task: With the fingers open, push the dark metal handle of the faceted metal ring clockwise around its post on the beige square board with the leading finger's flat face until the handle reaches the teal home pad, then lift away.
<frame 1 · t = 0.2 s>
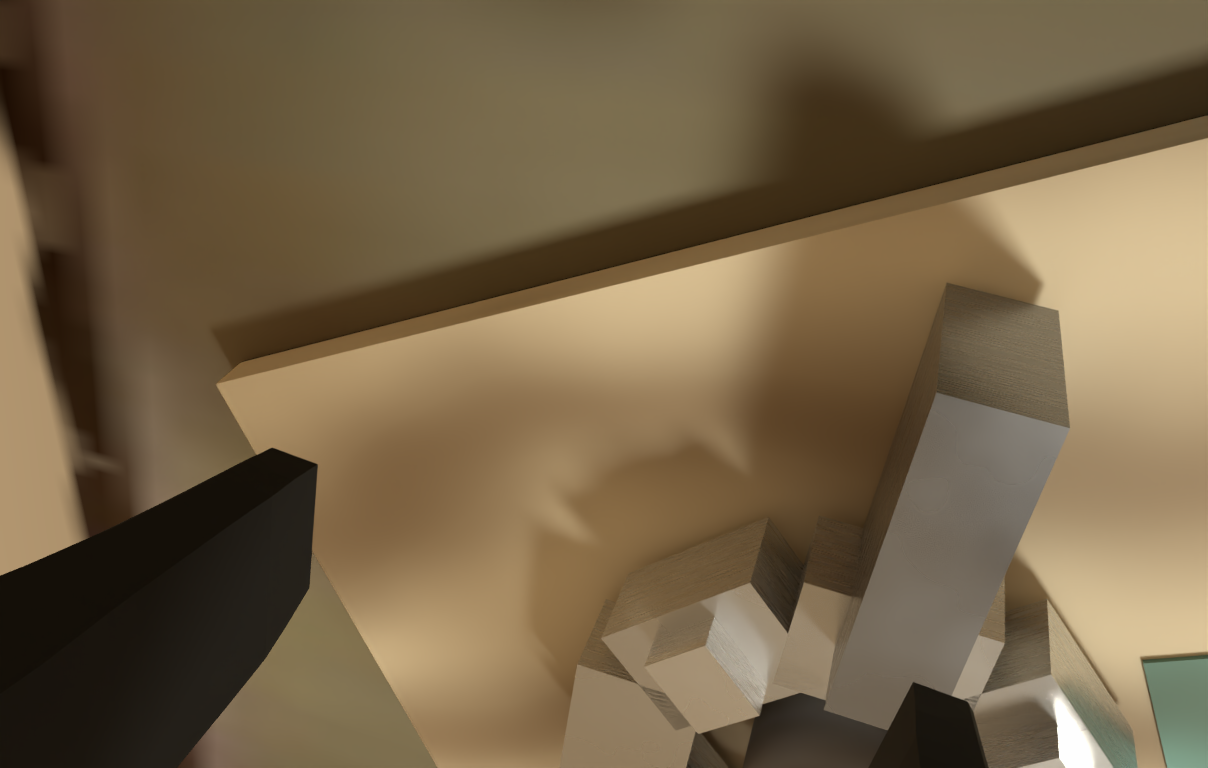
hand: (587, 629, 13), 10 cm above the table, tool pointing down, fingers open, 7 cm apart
faceted metal ring: (861, 713, 21), point 3 cm above the table, hinge at 0.0°
beige square board: (845, 688, 25), on the table
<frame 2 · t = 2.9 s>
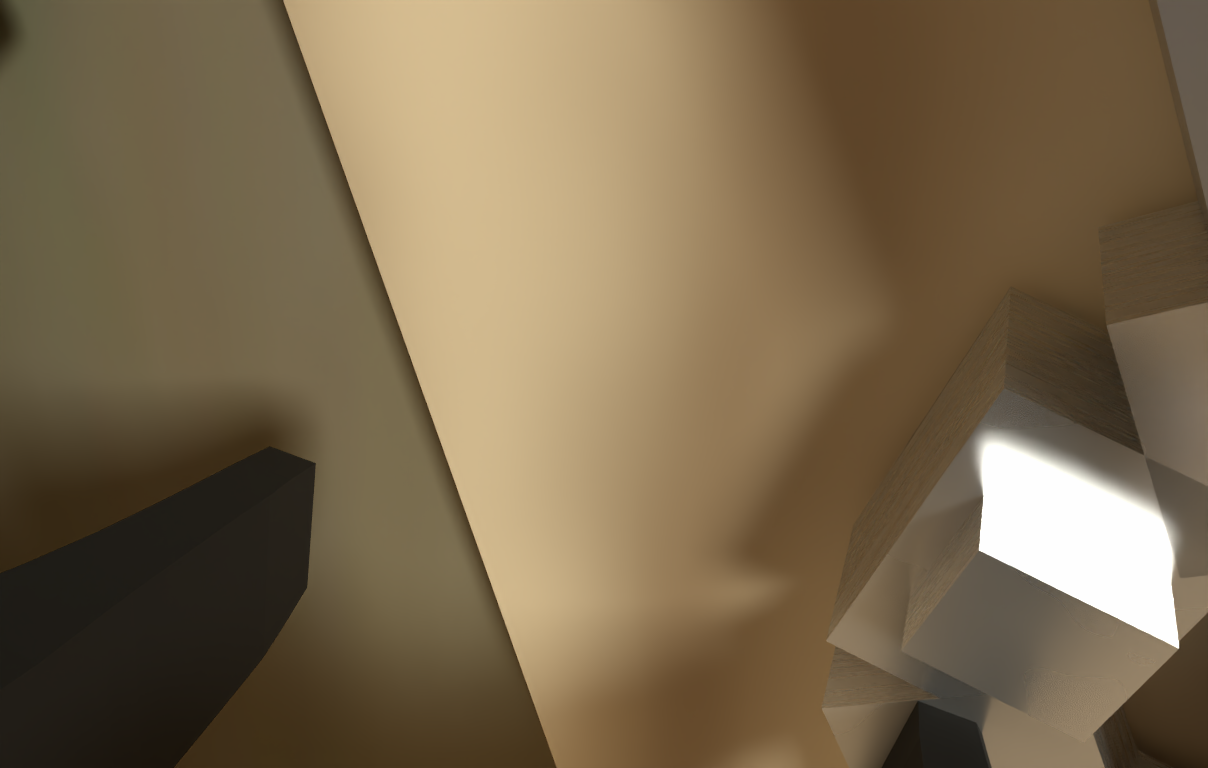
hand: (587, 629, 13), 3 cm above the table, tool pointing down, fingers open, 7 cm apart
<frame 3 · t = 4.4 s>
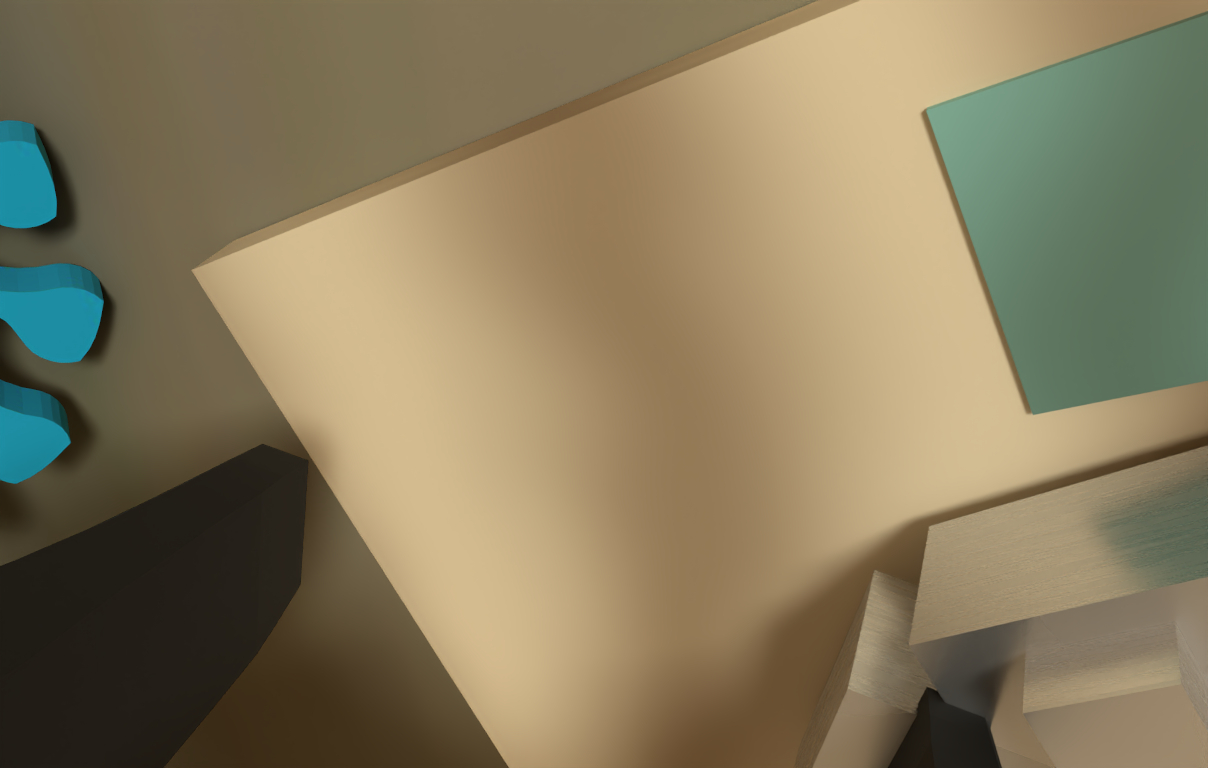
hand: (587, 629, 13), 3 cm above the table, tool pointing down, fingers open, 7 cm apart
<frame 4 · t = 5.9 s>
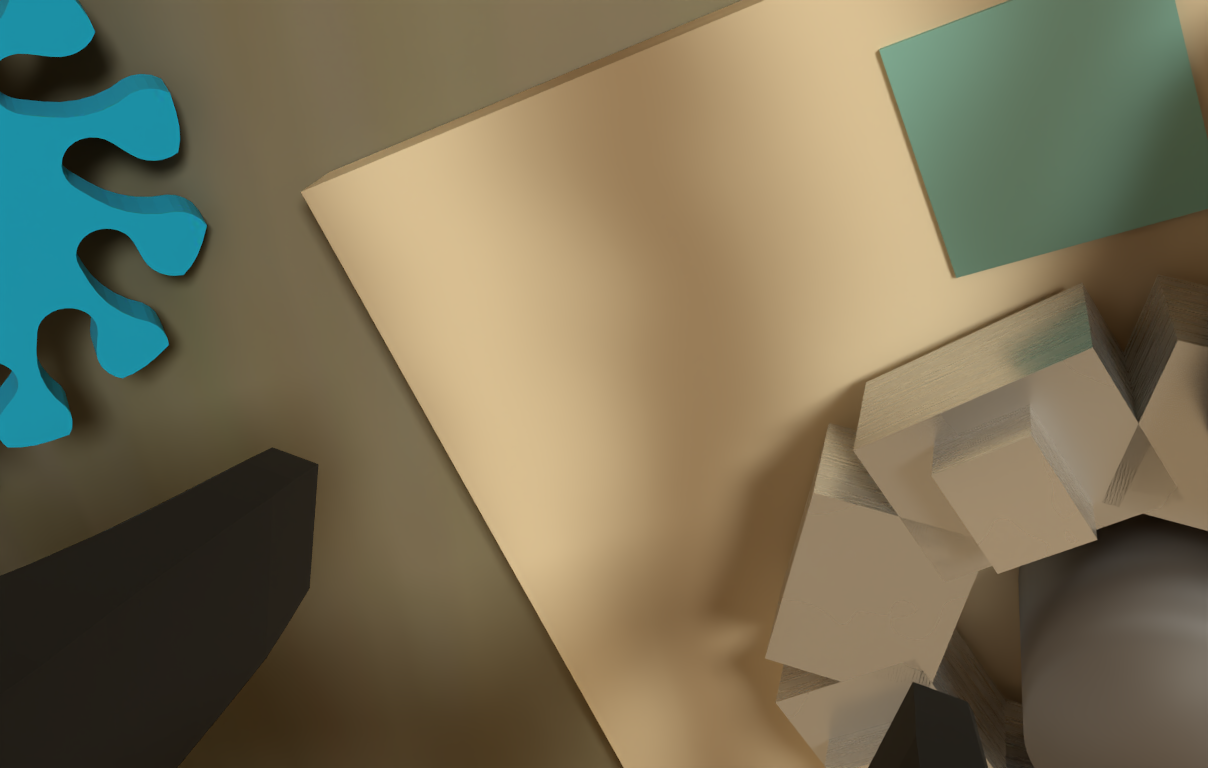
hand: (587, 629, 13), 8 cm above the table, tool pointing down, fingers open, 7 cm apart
gear: (50, 120, 22), on the table
beige square board: (1127, 547, 20), on the table
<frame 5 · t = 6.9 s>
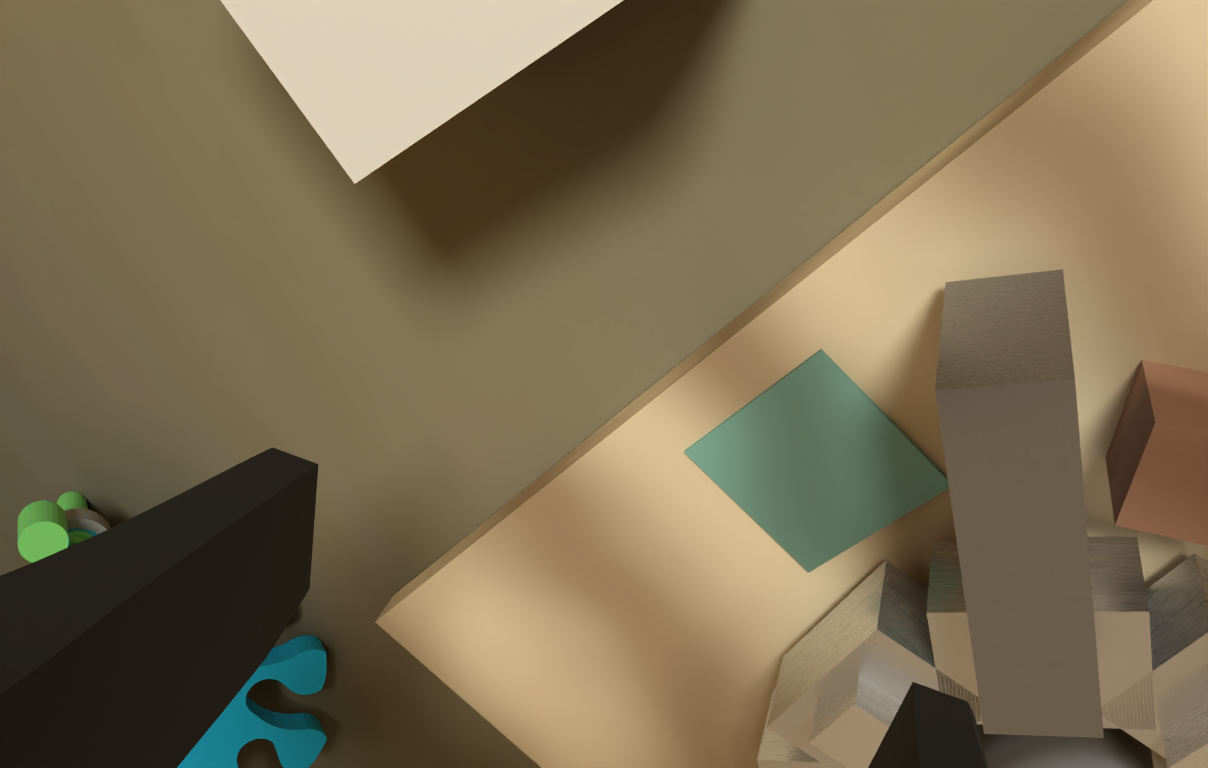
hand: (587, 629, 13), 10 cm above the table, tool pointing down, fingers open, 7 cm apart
gear: (211, 604, 31), on the table
faceted metal ring: (1047, 728, 20), point 3 cm above the table, hinge at -92.9°
beige square board: (1052, 708, 24), on the table
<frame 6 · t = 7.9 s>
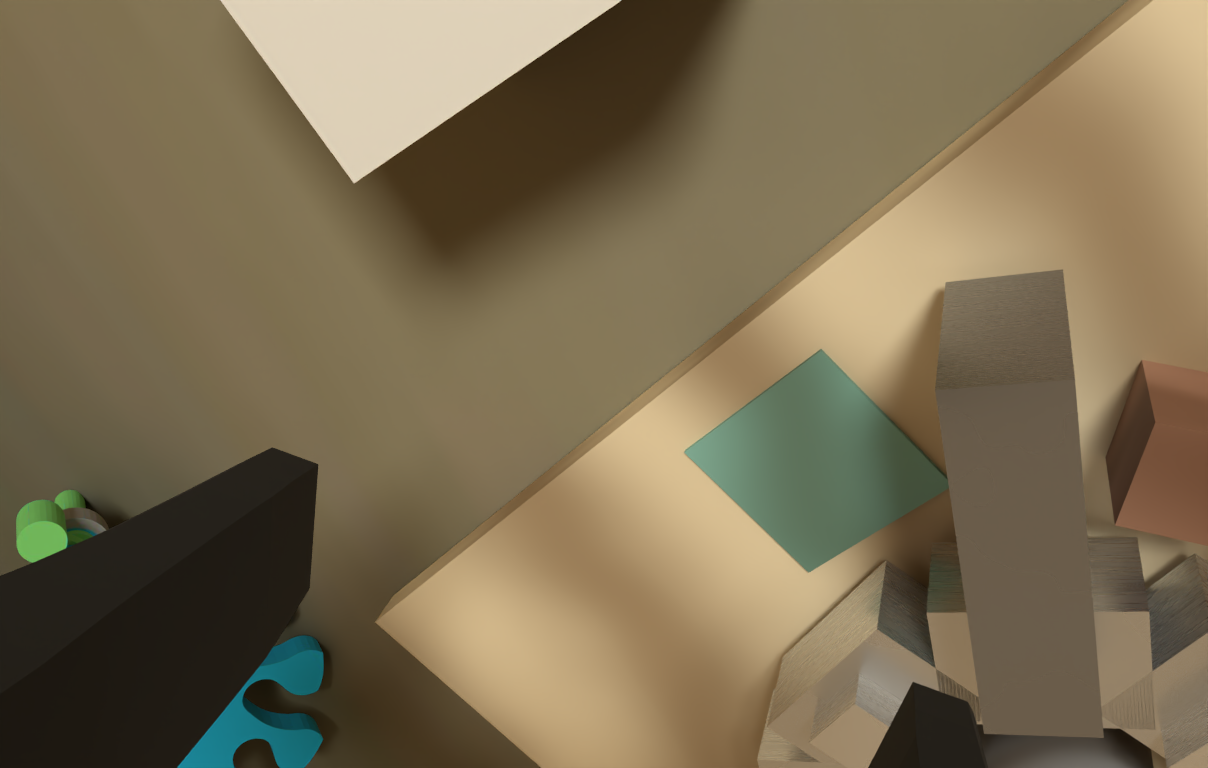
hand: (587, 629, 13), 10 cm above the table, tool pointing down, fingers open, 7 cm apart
gear: (208, 603, 31), on the table
faceted metal ring: (1047, 728, 20), point 3 cm above the table, hinge at -92.9°
beige square board: (1052, 708, 24), on the table
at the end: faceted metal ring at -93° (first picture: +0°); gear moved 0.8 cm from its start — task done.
